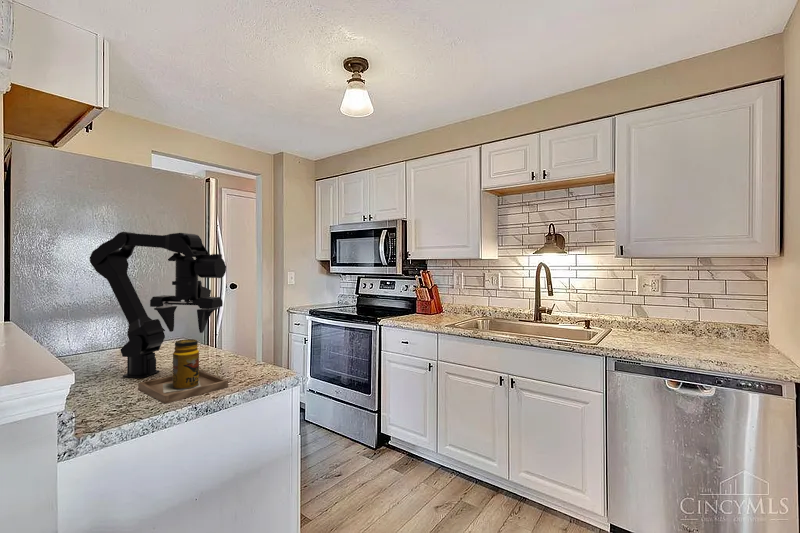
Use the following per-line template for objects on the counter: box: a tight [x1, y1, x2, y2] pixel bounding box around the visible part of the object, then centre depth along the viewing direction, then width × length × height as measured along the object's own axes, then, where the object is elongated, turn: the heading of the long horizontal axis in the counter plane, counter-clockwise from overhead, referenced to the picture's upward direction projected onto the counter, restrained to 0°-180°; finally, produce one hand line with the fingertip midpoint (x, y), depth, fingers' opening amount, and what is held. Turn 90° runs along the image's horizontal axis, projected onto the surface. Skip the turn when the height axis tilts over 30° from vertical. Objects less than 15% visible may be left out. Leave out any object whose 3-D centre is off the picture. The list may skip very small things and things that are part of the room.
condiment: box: [163, 338, 201, 393], centre depth 102 cm, size 7×8×12 cm
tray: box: [137, 369, 229, 404], centre depth 102 cm, size 16×16×2 cm
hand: (186, 332), depth 111 cm, fingers open, 9 cm apart
